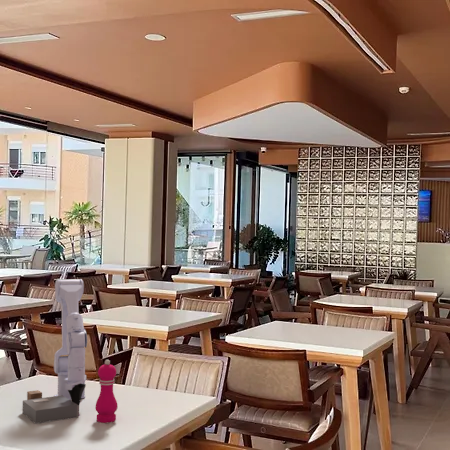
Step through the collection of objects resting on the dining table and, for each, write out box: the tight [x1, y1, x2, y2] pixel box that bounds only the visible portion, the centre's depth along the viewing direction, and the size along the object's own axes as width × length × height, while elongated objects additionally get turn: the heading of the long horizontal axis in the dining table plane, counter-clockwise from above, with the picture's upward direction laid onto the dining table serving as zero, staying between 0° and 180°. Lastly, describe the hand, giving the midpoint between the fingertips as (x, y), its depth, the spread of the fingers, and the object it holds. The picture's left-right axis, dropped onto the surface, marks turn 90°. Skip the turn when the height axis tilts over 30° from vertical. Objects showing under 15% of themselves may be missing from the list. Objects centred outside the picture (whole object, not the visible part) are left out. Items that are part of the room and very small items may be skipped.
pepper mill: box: [95, 359, 118, 424], centre depth 216 cm, size 7×7×20 cm
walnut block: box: [26, 389, 43, 400], centre depth 231 cm, size 4×4×5 cm
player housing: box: [22, 395, 78, 424], centre depth 221 cm, size 14×14×4 cm
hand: (75, 405), depth 226 cm, fingers closed
